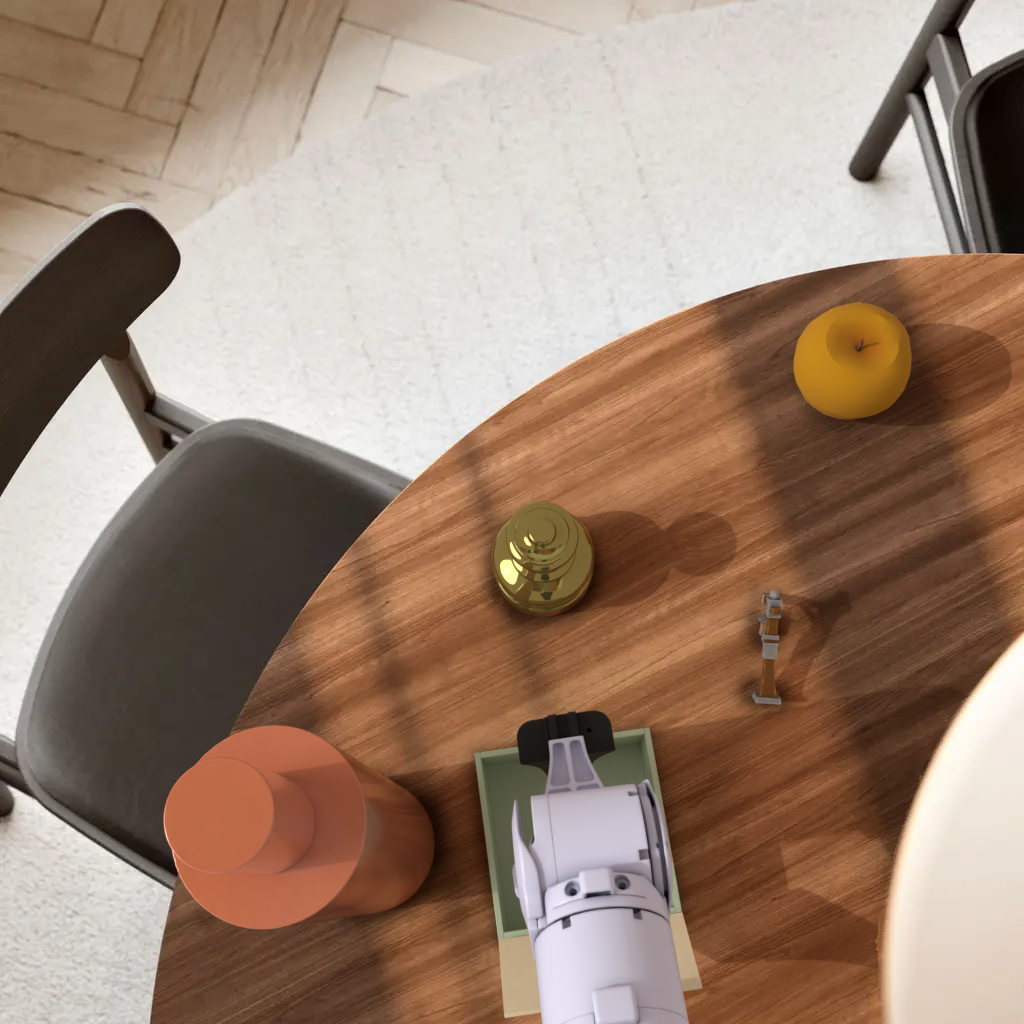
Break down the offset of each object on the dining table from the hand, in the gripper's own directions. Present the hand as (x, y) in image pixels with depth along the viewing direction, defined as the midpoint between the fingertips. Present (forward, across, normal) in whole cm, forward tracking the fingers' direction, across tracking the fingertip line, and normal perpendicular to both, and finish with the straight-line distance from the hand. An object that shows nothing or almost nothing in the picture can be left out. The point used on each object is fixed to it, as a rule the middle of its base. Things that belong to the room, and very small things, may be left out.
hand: (583, 877), depth 72 cm
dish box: (+9, -3, 0) cm, 9 cm away
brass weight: (+8, -22, +1) cm, 24 cm away
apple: (+8, -34, +26) cm, 43 cm away
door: (0, +5, 0) cm, 5 cm away
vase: (+9, -4, -14) cm, 17 cm away
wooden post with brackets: (+8, -14, +15) cm, 22 cm away
